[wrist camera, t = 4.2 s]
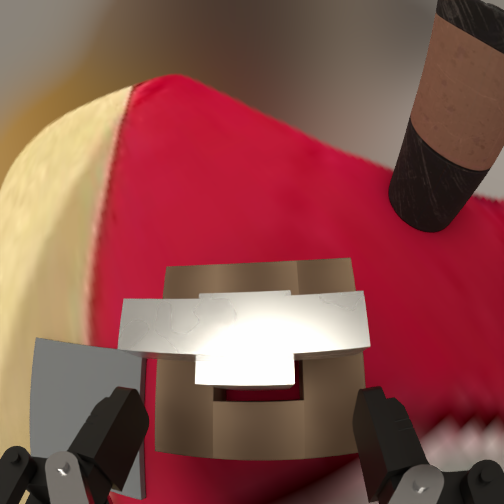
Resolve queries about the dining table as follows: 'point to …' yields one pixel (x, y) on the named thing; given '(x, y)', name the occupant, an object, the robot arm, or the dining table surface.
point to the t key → (246, 334)
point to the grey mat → (79, 396)
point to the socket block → (259, 412)
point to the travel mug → (453, 116)
